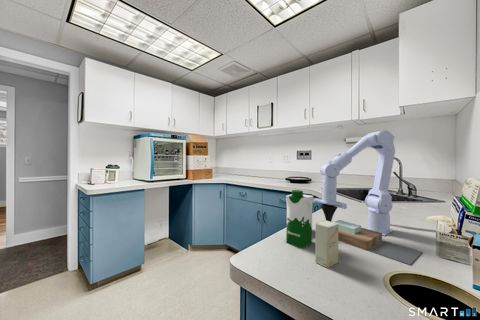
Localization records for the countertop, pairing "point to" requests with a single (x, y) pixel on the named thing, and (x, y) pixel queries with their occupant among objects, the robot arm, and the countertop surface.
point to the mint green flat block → (348, 226)
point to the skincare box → (326, 243)
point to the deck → (360, 238)
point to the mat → (397, 252)
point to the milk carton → (299, 219)
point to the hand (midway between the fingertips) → (328, 221)
